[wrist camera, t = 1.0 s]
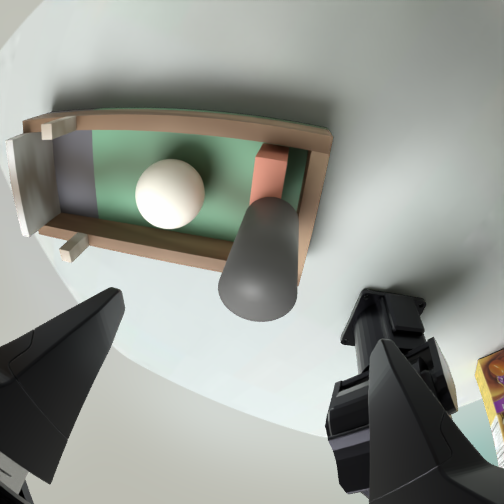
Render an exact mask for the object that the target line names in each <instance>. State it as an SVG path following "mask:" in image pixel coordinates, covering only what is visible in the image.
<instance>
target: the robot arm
mask: <svg viewBox="0 0 504 504" xmlns="http://www.w3.org/2000/svg"><path fill="white" fill-rule="evenodd" d="M365 295H368V296H367V297H364V296H365ZM420 304H421V305H420ZM425 307H426V302H425V300H424V299H422V298H416V297H411V296H405V295H399V294H393V293H384V292H378V291H372V290H364V291H362V292H361V293H360V296H359V298H358V300H357V303H356V305H355V307H354V310H353V312H352V314H351V316H350V319H349V321H348V323H347V325H346V327H345V330H344V332H343V334H342V336H341V339H340V340H341V344H343V345H350V346H355V348H356V356H357V365H358V374H359V375H356V376H354V377H352V378H349V379H347V380H344V381H339V382H336V383H335V386H334V390H333V394H332V398H331V402H330V406H329V410H328V414H327V418H326V424H325V428H326V431H327V436H328V441H329V443H330V445H331V447H332V449H333V452H334V456H335V459H336V464H337V470H338V478H339V484H340V485H341V487H342V488H343V489H344V491H345V492H346V493H347V494H353V493H358V492H361V493H362V494H364V495H365V496H366V497H367V498H368V499H369V502H370V503H369V504H504V468H501V467H497V466H494V465H492V464H490V463H489V462H487V461H486V460H485V459H484V458H483V457H482V456H481V455H480V453H479V452H478V451H477V450H476V449H475V447H474V446H473V445H472V444H471V443H470V441H469V440H468V439H467V438H466V437H465V436H464V434H463V433H462V432H461V431H460V429H459V428H458V427H457V426H456V424H455V423H454V422H453V420H452V417H451V414H453V413H456V412H457V411H458V406H457V397H456V389H455V384H454V381H453V378H452V375H451V372H450V370H449V367H448V364H447V362H446V360H445V358H444V356H443V354H442V352H441V350H440V348H439V346H438V344H437V342H436V340H435V338H434V337H432V338H430V339H429V340H428V341H427V342H426V339H425V336H424V332H425V329H424V327H423V324H422V321H421V318H420V315H421V314H422V312H423V310H424V308H425ZM124 311H125V305H124V300H123V295H122V291H121V290H120V289H117V288H113V287H110V288H108V289H106V290H104V291H102V292H100V293H98V294H97V295H95V296H93V297H91V298H89V299H87V300H86V301H84V302H82V303H80V304H78V305H76V306H75V307H73V308H71V309H69V310H67V311H66V312H64V313H62V314H60V315H58V316H56V317H55V318H53V319H51V320H49V321H47V322H46V323H44V324H42V325H40V326H39V327H37V328H35V330H32V331H30V332H28V333H26V334H24V335H23V336H21V337H19V338H17V339H15V340H13V341H11V342H9V343H7V344H5V345H3V346H1V347H0V504H34V503H33V500H32V497H31V495H30V492H29V489H28V486H27V483H26V480H25V478H26V476H27V474H28V472H30V473H32V474H33V475H35V476H36V477H38V478H40V479H41V480H43V481H45V482H46V483H48V484H51V482H52V480H53V477H54V474H55V471H56V469H57V466H58V464H59V461H60V458H61V456H62V453H63V451H64V448H65V446H66V444H67V441H68V438H69V436H70V433H71V431H72V429H73V426H74V424H75V422H76V420H77V417H78V415H79V413H80V410H81V408H82V406H83V404H84V402H85V399H86V397H87V395H88V393H89V391H90V388H91V387H92V384H93V382H94V380H95V378H96V376H97V374H98V372H99V370H100V368H101V366H102V364H103V362H104V360H105V358H106V356H107V354H108V352H109V350H110V348H111V345H112V343H113V340H114V338H115V335H116V332H117V330H118V327H119V325H120V322H121V320H122V317H123V315H124Z"/></svg>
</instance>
